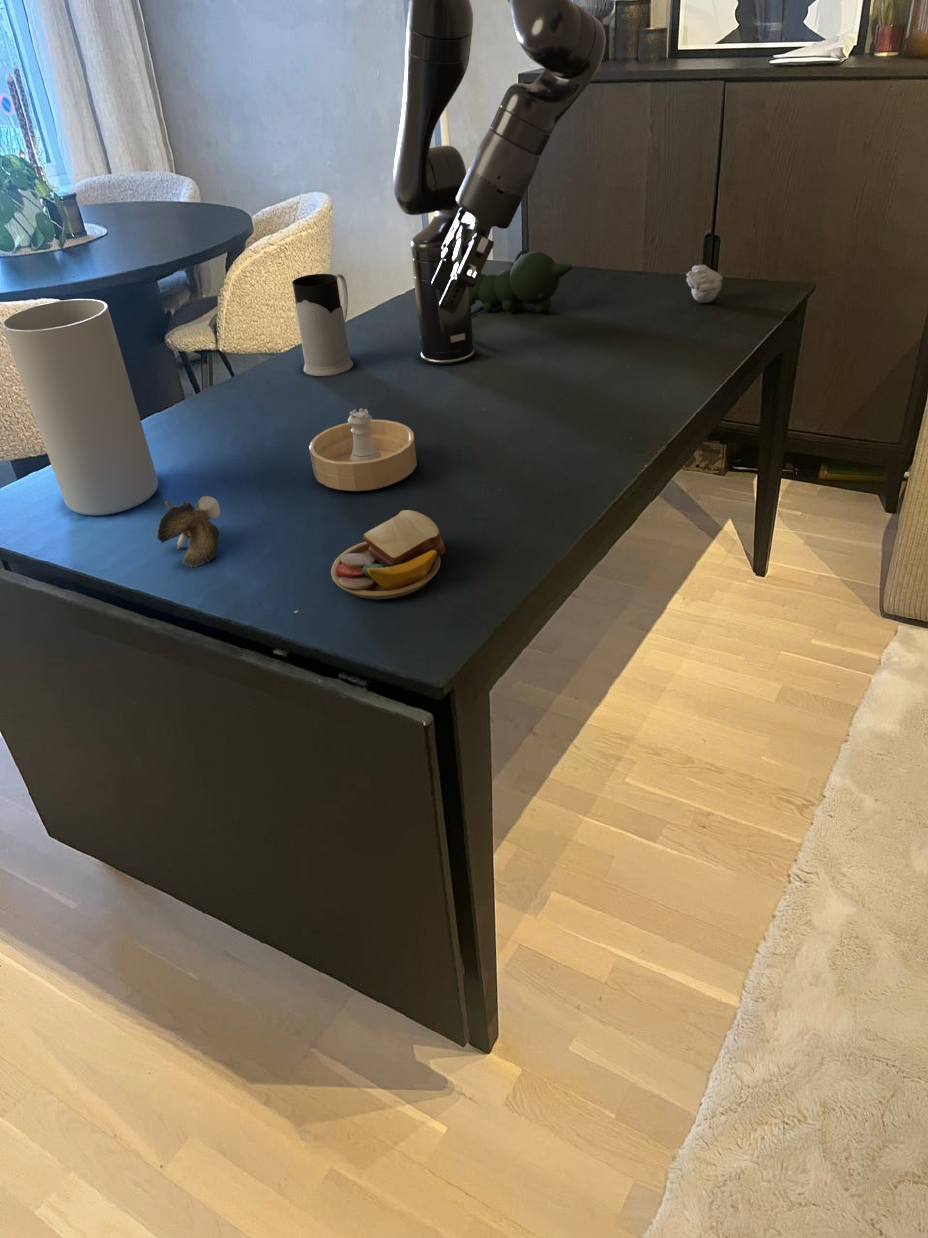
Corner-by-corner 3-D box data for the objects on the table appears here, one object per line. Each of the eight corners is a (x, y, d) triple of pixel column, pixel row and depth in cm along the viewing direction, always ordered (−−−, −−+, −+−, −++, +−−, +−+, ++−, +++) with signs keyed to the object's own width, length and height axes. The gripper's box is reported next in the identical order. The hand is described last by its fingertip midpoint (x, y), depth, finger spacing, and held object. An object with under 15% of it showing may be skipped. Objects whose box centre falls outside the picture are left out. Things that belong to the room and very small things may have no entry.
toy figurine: (450, 321, 187) (567, 319, 176) (434, 220, 177) (556, 211, 166) (471, 306, 194) (585, 303, 183) (456, 209, 184) (576, 199, 173)
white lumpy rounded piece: (680, 299, 182) (682, 262, 179) (715, 296, 183) (718, 258, 179) (689, 309, 178) (692, 270, 174) (726, 305, 178) (729, 267, 174)
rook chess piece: (387, 460, 131) (380, 406, 127) (375, 475, 128) (367, 419, 123) (358, 458, 133) (350, 404, 128) (345, 472, 129) (336, 417, 125)
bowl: (317, 454, 136) (312, 425, 134) (415, 444, 137) (412, 415, 134) (312, 499, 125) (306, 468, 122) (418, 488, 125) (415, 457, 122)
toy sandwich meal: (316, 566, 110) (309, 531, 108) (419, 532, 115) (415, 498, 112) (358, 617, 101) (351, 579, 98) (468, 578, 106) (465, 541, 103)
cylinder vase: (108, 525, 123) (45, 336, 108) (47, 506, 129) (-21, 324, 114) (178, 485, 131) (128, 304, 117) (118, 469, 137) (63, 295, 123)
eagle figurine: (154, 529, 118) (145, 553, 110) (174, 479, 116) (166, 498, 108) (212, 552, 121) (208, 576, 113) (233, 503, 119) (230, 524, 111)
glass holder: (294, 373, 164) (278, 286, 156) (333, 346, 175) (320, 263, 166) (338, 377, 161) (324, 288, 153) (375, 349, 172) (364, 264, 163)
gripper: (462, 152, 121) (410, 270, 129) (480, 177, 109) (422, 305, 117) (513, 179, 123) (459, 293, 131) (536, 206, 112) (475, 329, 120)
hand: (441, 299), depth 124 cm, fingers open, 8 cm apart
